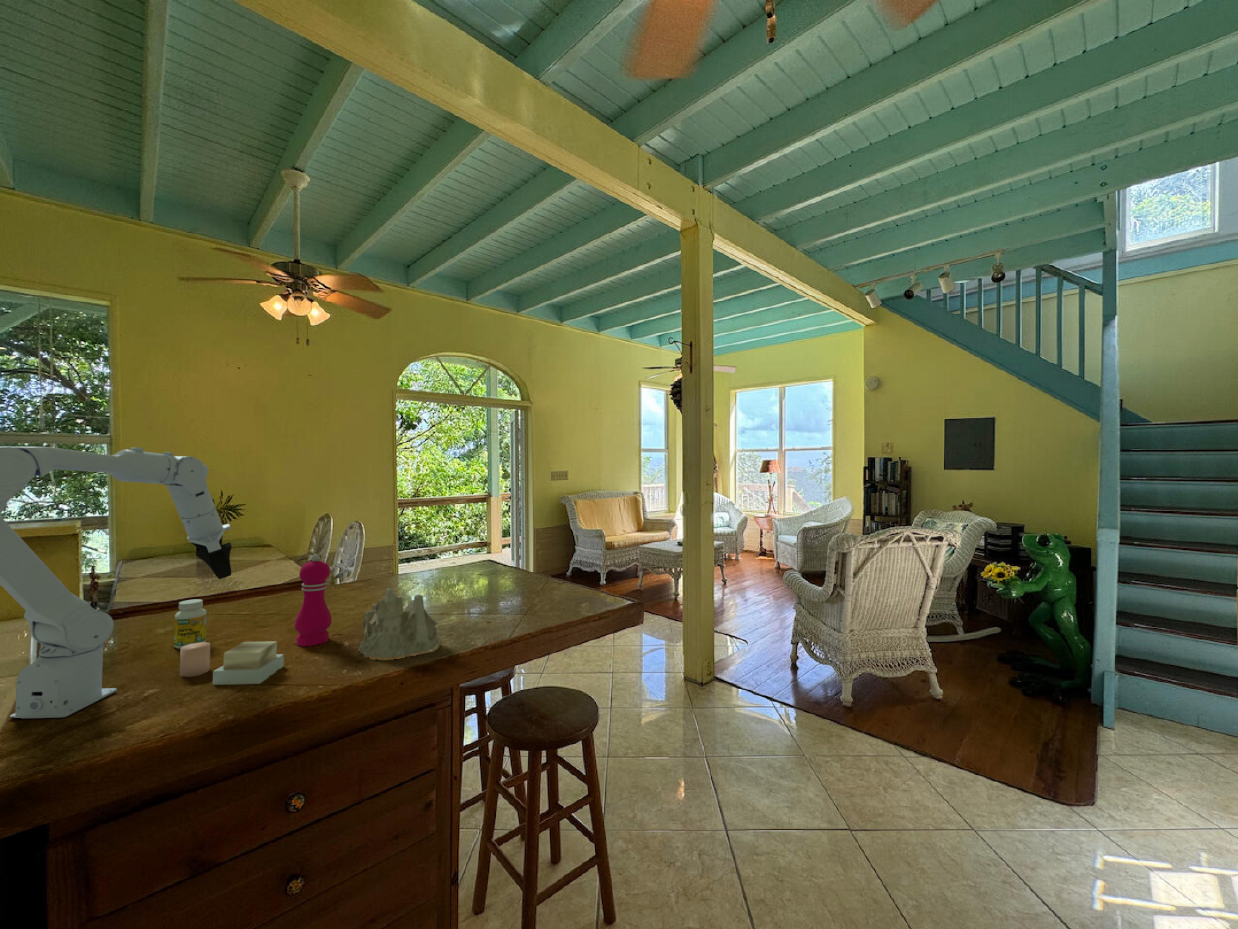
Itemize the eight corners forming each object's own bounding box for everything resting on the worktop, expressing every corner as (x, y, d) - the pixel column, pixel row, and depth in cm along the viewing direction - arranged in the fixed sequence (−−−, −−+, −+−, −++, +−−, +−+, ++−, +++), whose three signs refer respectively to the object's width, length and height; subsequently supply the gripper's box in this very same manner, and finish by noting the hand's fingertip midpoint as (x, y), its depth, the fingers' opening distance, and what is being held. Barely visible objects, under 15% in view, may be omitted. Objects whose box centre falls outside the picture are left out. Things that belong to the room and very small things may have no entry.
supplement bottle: (207, 639, 114) (208, 597, 114) (204, 646, 109) (205, 602, 109) (176, 643, 111) (177, 600, 111) (171, 651, 106) (172, 606, 106)
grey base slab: (259, 686, 92) (260, 670, 92) (212, 687, 91) (213, 671, 91) (283, 669, 100) (283, 654, 100) (240, 669, 99) (240, 654, 99)
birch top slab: (258, 668, 93) (258, 652, 93) (223, 669, 92) (223, 653, 92) (276, 656, 99) (276, 641, 99) (243, 657, 98) (244, 641, 98)
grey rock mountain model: (443, 652, 110) (442, 583, 110) (359, 668, 102) (358, 593, 102) (433, 635, 123) (431, 573, 124) (358, 647, 115) (357, 582, 116)
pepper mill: (288, 648, 110) (291, 557, 110) (300, 637, 117) (303, 551, 117) (325, 646, 111) (328, 556, 112) (334, 635, 118) (337, 551, 119)
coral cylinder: (199, 676, 95) (199, 650, 95) (173, 677, 94) (174, 650, 94) (215, 667, 99) (215, 642, 99) (190, 667, 98) (191, 642, 98)
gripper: (228, 514, 99) (251, 573, 103) (216, 497, 109) (237, 552, 113) (183, 528, 94) (209, 589, 99) (174, 509, 104) (198, 566, 109)
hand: (221, 570), depth 106 cm, fingers open, 7 cm apart
